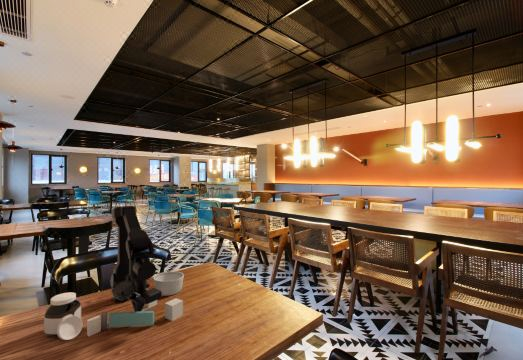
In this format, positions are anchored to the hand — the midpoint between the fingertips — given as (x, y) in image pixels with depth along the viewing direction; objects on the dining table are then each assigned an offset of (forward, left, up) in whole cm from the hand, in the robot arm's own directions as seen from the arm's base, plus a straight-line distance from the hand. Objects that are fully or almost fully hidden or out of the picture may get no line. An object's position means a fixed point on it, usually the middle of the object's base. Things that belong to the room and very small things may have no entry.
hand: (137, 314), depth 93 cm
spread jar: (-15, -16, -3) cm, 22 cm away
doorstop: (+7, +10, -3) cm, 13 cm away
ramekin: (-13, +24, -3) cm, 27 cm away
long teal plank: (0, -3, -2) cm, 3 cm away
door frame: (-7, 0, -3) cm, 7 cm away
